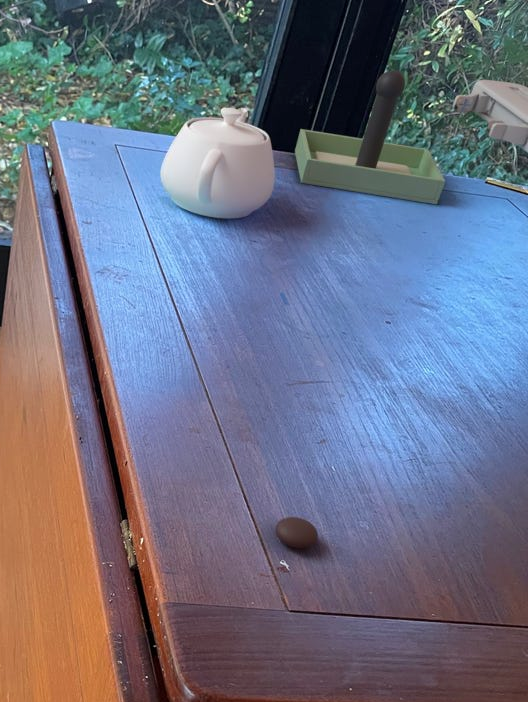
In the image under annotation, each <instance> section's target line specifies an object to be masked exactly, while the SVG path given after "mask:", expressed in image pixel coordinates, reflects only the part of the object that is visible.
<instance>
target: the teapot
mask: <svg viewBox="0 0 528 702" xmlns="http://www.w3.org/2000/svg"><path fill="white" fill-rule="evenodd" d="M220 114H221V116H222V117H223V118H222V117H212V116H210V117H209V116H208V117H207V116H206V117H205V116H204V117H196V118H191V119H188V120H187V121H186V122H185V123H184V124H183V126H182V127H181V129H180V130H179V131H178V134H177V135H175V138H174V139H173V141H172V143H171V144H170V146H169V148H168V150H167V152H166V154H165V156H164V158H163V160H162V164H161V167H160V173H159V175H160V180H161V184H162V187H163V189H164V190H165V192H166V193H167V194H168V196H169V197H170V199H171V201H172V202H173V203H174V204H175V205H176V206H178V207H179V208H181V209H182V210H186V211H188V212H191V213H194V214H196V215H200V216H204V217H209V218H216V219H239V218H240V219H241V218H244V217H247V216H249V215H251V214H252V213H253V212H255V211H256V210H258V209H260V208H262V207H263V206H264V205H265V204H266V203H267V202H268V201H269V199H270V198H271V197H272V195H273V192H274V186H275V177H276V175H275V174H276V173H275V172H276V171H275V160H274V153H273V147H272V142H271V138H270V136H269V134H268V133H267V132H266V131H265V130H263V129H261V128H259V127H257V126H255V125H252V124H249V123H246V119H247V116H248V109H247V108H245V107H240V108H238V109H237V108H234V107H221V109H220Z"/></svg>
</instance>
